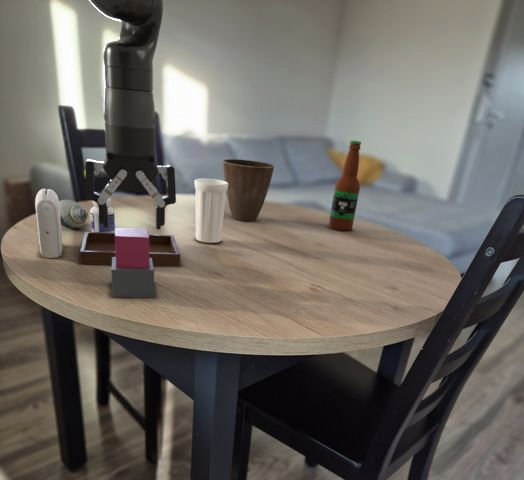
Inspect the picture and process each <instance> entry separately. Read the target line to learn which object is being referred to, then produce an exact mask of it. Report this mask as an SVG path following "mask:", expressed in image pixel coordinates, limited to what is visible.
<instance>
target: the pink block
mask: <svg viewBox="0 0 524 480" xmlns="http://www.w3.org/2000/svg"><path fill="white" fill-rule="evenodd" d="M115 253H116V268H134V269H149V229H148V228H134V227H132V228H131V227H115Z"/></svg>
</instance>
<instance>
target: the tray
mask: <svg viewBox="0 0 524 480" xmlns="http://www.w3.org/2000/svg"><path fill="white" fill-rule="evenodd" d="M148 234H149V233H148ZM112 257H116V253H115V233H103V232H92V231H84V233H83V237H82V241H81V245H80V249H79V260H80V262H79V263H80V265H99V266H101V265H104V266H105V265H106V266H112ZM149 258H152V262H153V267H180V266H181V253H180V250H179V247H178V245H177V241H176V238H175V235H174V234H153V233H152V234H151V233H150V234H149Z"/></svg>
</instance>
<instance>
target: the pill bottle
mask: <svg viewBox="0 0 524 480" xmlns="http://www.w3.org/2000/svg"><path fill="white" fill-rule="evenodd" d="M106 203H108V223H109V226H108V228H104V224H101V223H100V221H99V206H98V204H97V203H96V202H95V201H92V207H91V208H90V212H89V213H90V227H91V232H103V233H115V228H116V218H115V210H114V209H113V207H111V206H112V198H111V197H109V199H108V200H107V201H106Z"/></svg>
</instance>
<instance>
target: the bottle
mask: <svg viewBox="0 0 524 480" xmlns="http://www.w3.org/2000/svg"><path fill="white" fill-rule="evenodd" d="M361 145H362V141H360V140H350V141H349V146H348V151H347V155H346V158H345V161H344V164H343V168H342V174H341V176H339V178H338V180H337V181H336V183H335V186H334V191H333V197H332V202H331V209H330V214H329V220H328V226H329V228H330V229H332V230H334V231H339V232H350V231H351V230H352V229H353V225H354V220H355V215H356V210H357V205H358V200H359V195H360V190H361V185H360V182H359V180H358V173H359V166H360V164H359V163H360V150H361Z"/></svg>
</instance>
